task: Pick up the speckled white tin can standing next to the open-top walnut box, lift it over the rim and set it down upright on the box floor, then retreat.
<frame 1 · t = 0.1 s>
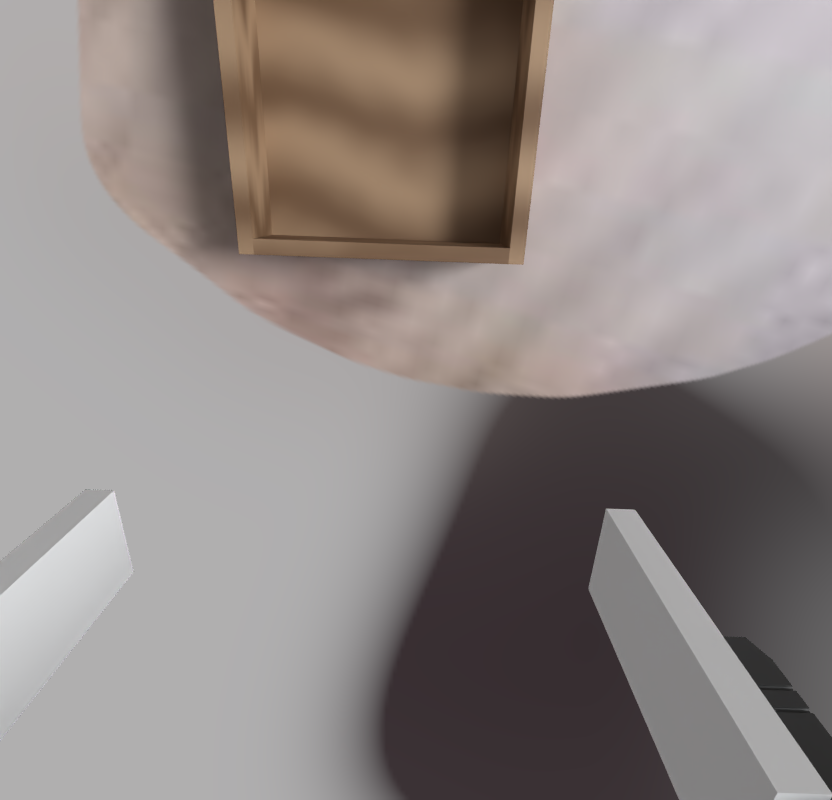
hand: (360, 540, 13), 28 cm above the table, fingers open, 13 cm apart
walnut box: (388, 118, 34), on the table
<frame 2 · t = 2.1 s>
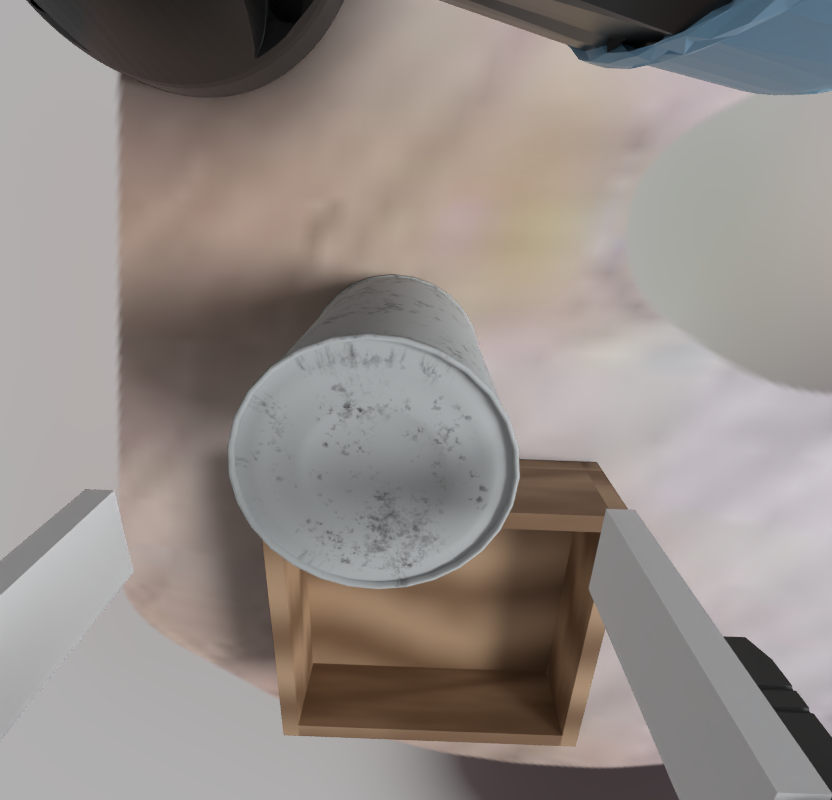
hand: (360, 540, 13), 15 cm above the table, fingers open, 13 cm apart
speckled white tin can: (394, 359, 27), on the table
walnut box: (434, 571, 33), on the table
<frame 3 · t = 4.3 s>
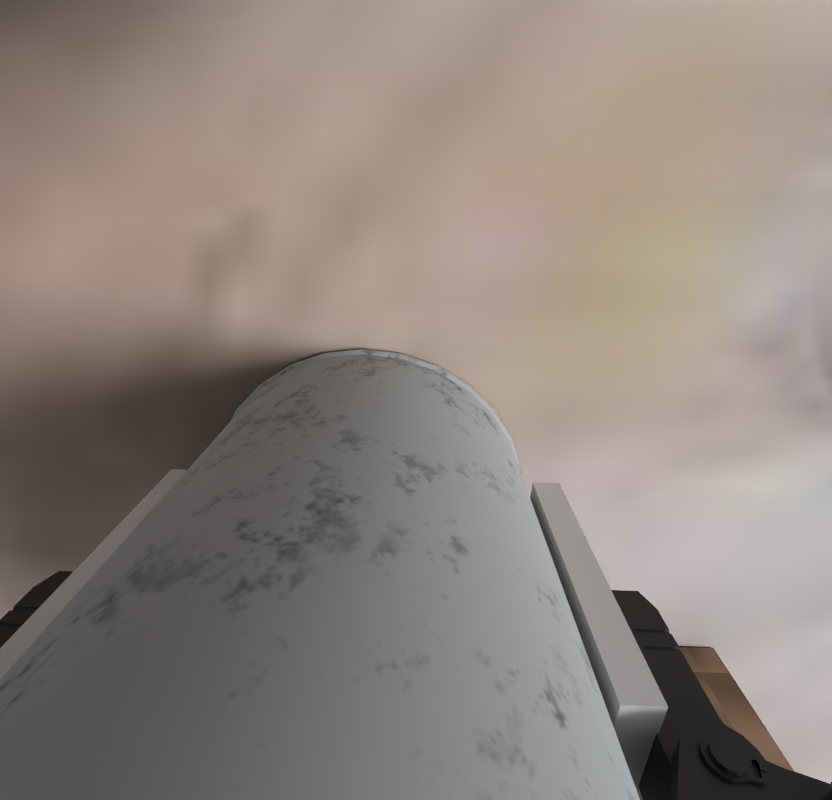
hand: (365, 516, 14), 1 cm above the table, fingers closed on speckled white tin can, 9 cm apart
speckled white tin can: (370, 490, 15), on the table, touching gripper
walnut box: (439, 790, 21), on the table
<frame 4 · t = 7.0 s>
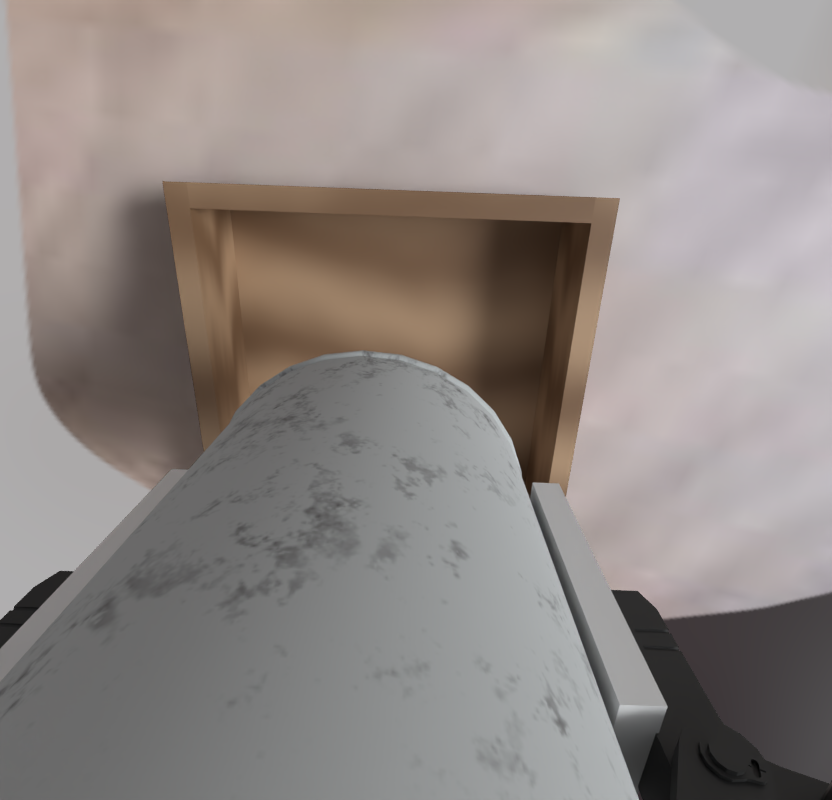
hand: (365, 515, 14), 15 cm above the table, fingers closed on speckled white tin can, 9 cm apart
speckled white tin can: (370, 492, 15), point 14 cm above the table, touching gripper
walnut box: (394, 358, 28), on the table
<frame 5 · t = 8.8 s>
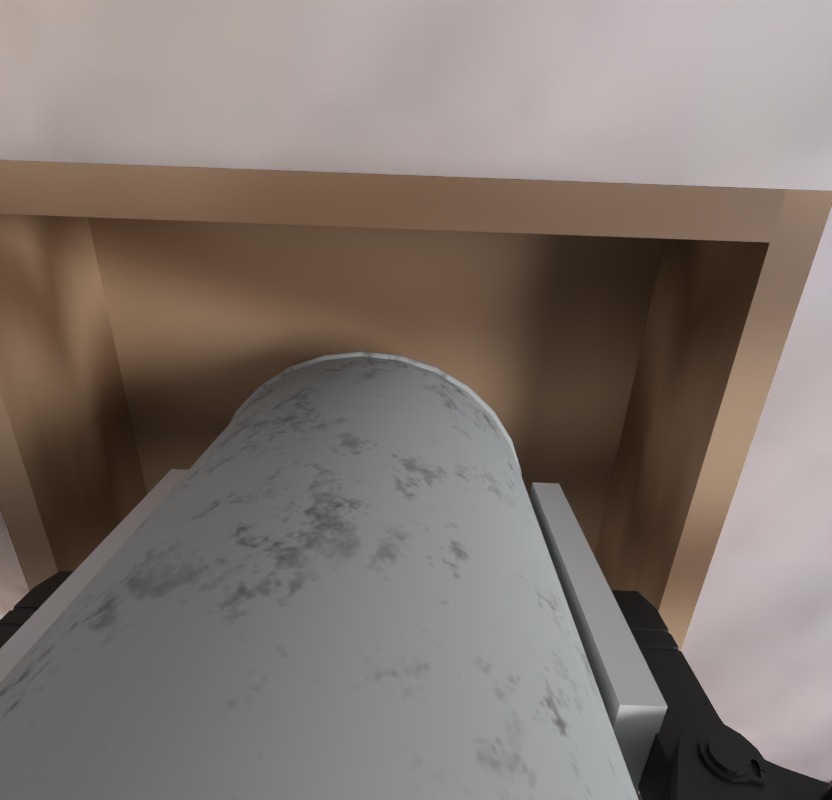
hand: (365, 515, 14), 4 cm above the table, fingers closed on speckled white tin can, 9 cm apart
speckled white tin can: (370, 492, 15), point 3 cm above the table, touching gripper
walnut box: (378, 446, 18), on the table
when the fingers open (4 cm above the table, at t = 9.9 s): speckled white tin can drops 1 cm, resting on walnut box.
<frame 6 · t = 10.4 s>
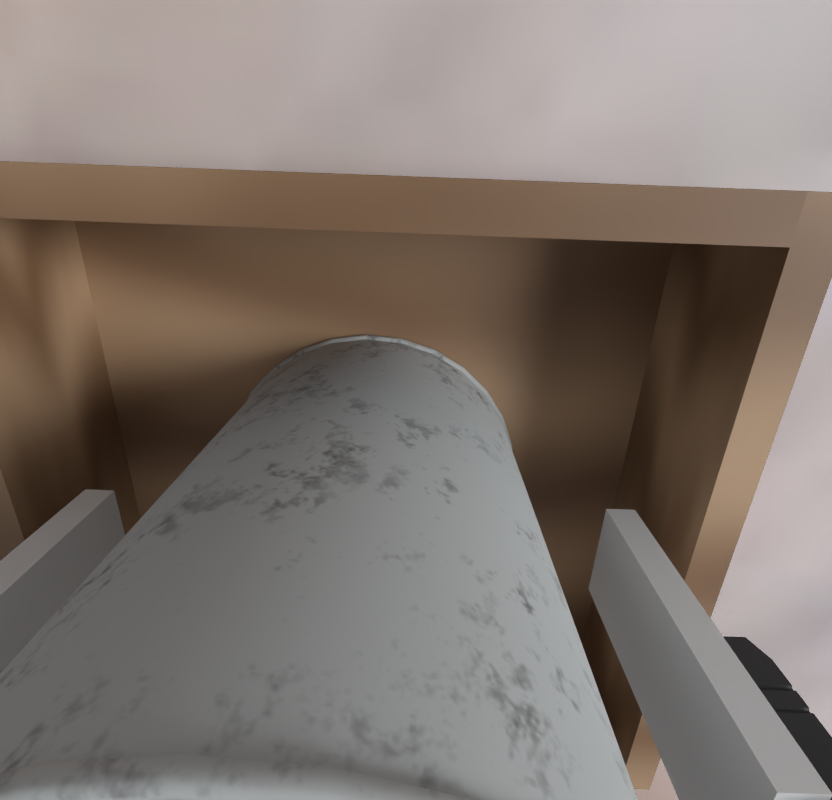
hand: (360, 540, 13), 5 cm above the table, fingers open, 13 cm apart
speckled white tin can: (373, 466, 17), point 1 cm above the table, touching walnut box
walnut box: (376, 456, 17), on the table
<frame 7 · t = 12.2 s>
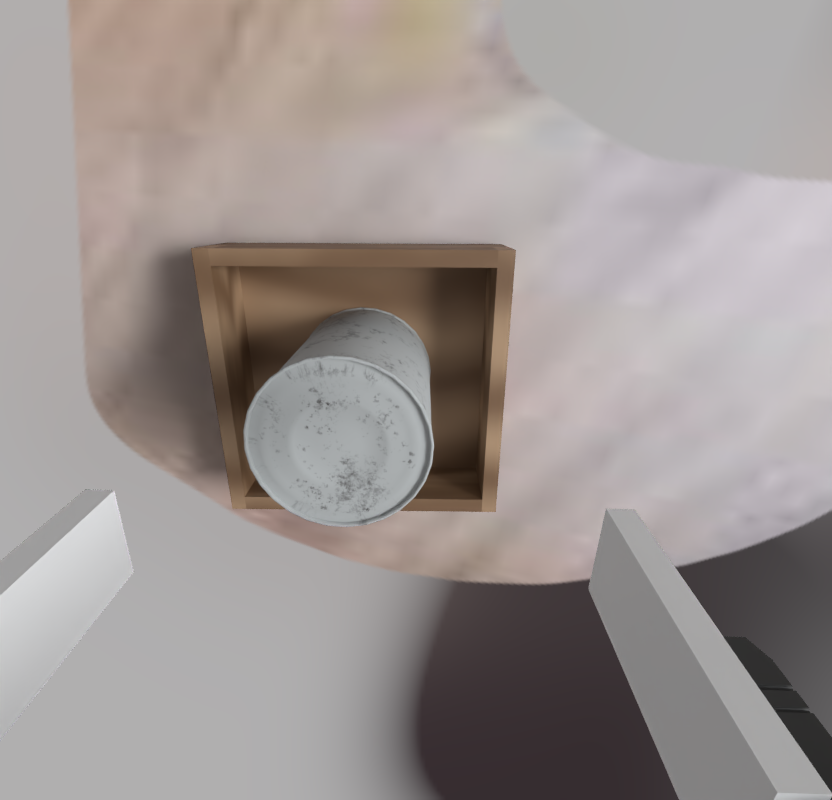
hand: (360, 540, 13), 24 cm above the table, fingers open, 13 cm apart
speckled white tin can: (366, 370, 35), point 1 cm above the table, touching walnut box
walnut box: (367, 368, 36), on the table
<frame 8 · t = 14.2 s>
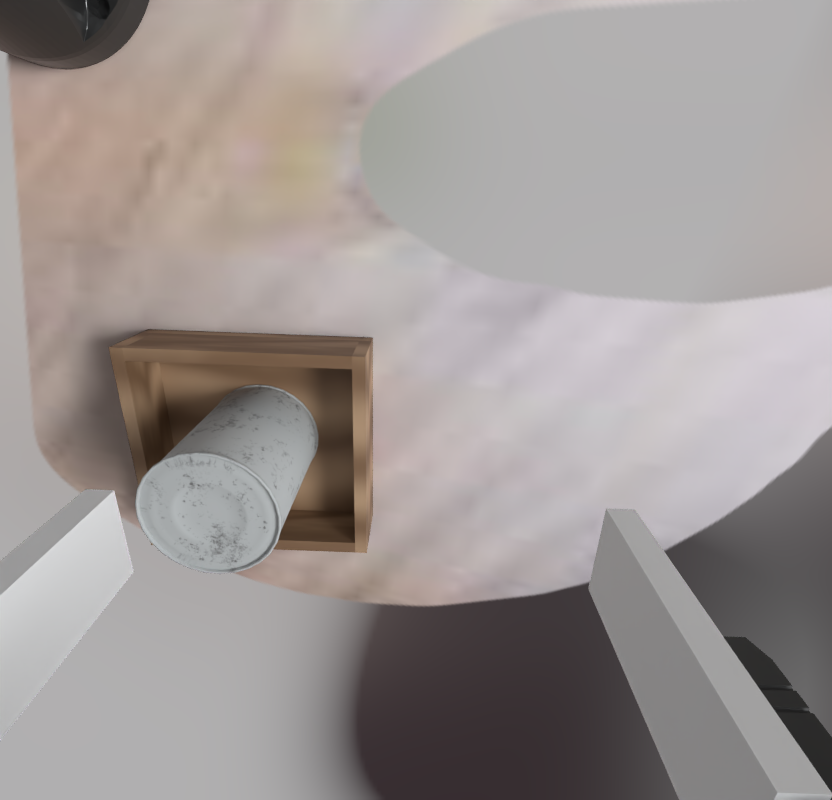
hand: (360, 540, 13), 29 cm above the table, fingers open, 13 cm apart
speckled white tin can: (266, 433, 43), point 1 cm above the table, touching walnut box
walnut box: (269, 429, 44), on the table
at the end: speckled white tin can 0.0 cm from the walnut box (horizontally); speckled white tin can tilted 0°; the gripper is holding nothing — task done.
